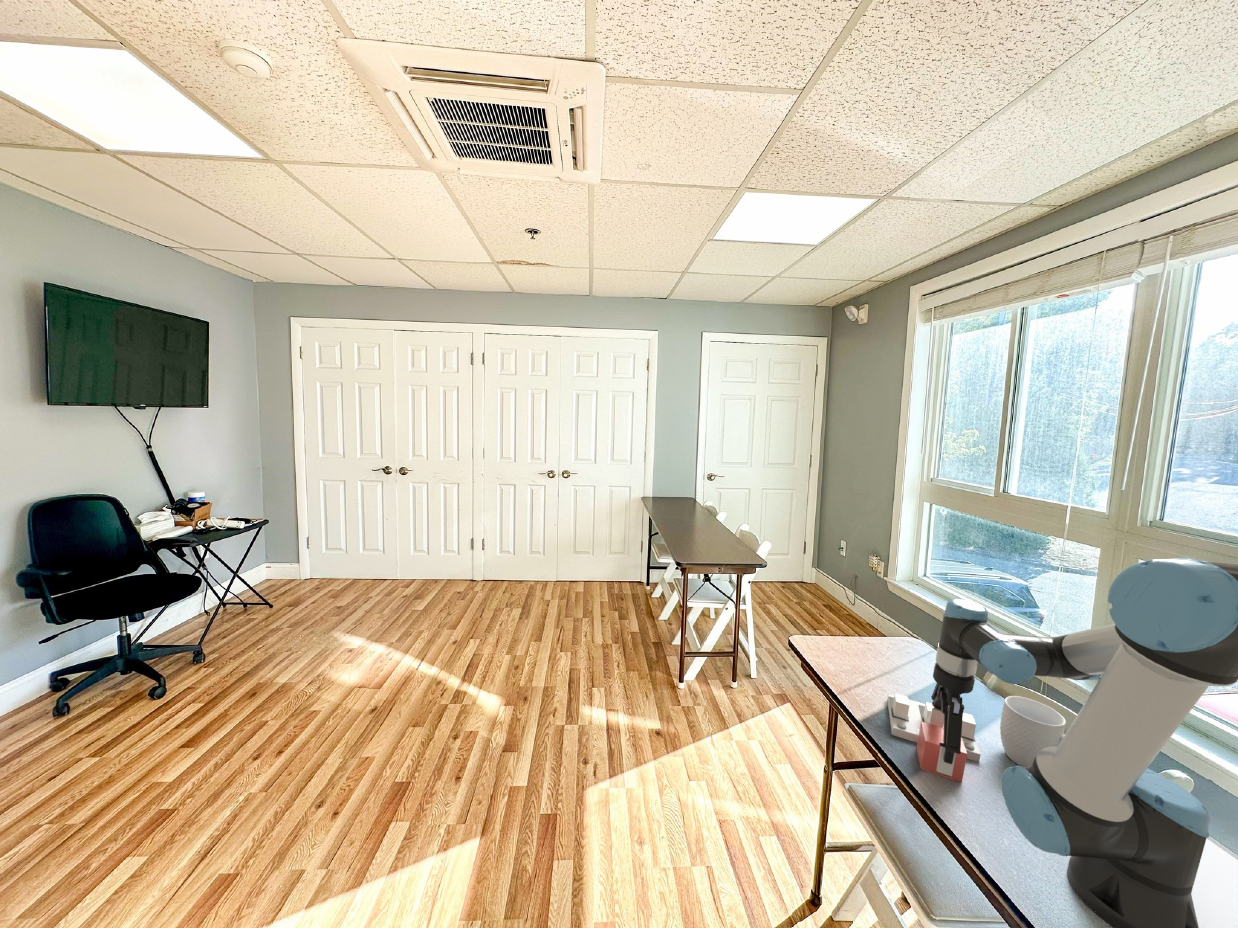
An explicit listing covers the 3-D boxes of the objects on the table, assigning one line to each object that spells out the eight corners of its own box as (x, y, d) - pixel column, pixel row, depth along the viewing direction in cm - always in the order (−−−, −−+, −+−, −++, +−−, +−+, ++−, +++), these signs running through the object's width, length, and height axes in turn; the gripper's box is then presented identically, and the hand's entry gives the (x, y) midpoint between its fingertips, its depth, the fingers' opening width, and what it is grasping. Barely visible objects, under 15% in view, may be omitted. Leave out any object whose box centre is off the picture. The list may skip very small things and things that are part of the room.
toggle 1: (907, 719, 123) (909, 705, 122) (893, 715, 124) (896, 701, 123) (905, 710, 126) (907, 696, 126) (892, 707, 127) (894, 693, 127)
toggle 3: (973, 739, 117) (976, 724, 116) (958, 734, 118) (961, 720, 117) (969, 729, 120) (972, 715, 120) (955, 725, 122) (958, 711, 121)
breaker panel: (979, 761, 112) (980, 753, 112) (891, 734, 120) (893, 726, 120) (964, 722, 127) (966, 714, 126) (887, 699, 134) (888, 692, 134)
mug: (1083, 778, 109) (1095, 726, 107) (1068, 798, 103) (1081, 743, 101) (1004, 737, 122) (1014, 690, 120) (987, 753, 115) (996, 703, 114)
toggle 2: (939, 728, 120) (941, 714, 119) (925, 724, 121) (927, 710, 120) (936, 719, 123) (939, 705, 123) (923, 715, 125) (925, 701, 124)
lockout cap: (961, 782, 106) (967, 753, 105) (920, 768, 109) (925, 740, 108) (955, 759, 112) (960, 732, 112) (916, 747, 116) (921, 721, 115)
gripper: (990, 705, 95) (970, 799, 98) (963, 647, 117) (948, 725, 120) (945, 692, 98) (927, 784, 101) (927, 638, 120) (913, 715, 123)
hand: (938, 752), depth 111 cm, fingers open, 13 cm apart
